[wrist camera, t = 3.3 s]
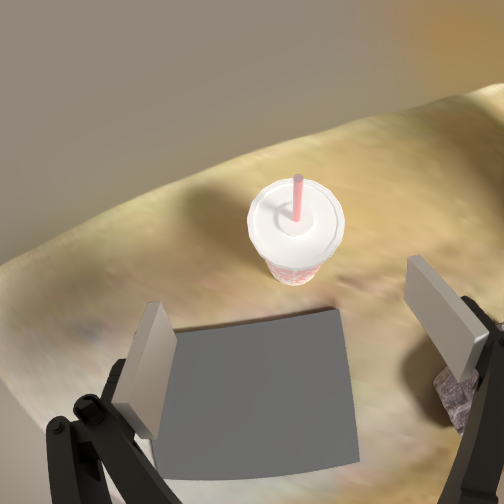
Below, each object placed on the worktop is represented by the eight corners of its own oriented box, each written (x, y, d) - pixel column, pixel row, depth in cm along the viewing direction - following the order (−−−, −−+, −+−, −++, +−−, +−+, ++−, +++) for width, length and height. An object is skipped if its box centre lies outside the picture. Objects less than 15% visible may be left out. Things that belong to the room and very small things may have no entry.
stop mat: (337, 309, 26) (338, 308, 25) (358, 459, 22) (359, 461, 21) (139, 337, 27) (136, 336, 26) (161, 476, 23) (159, 478, 22)
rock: (522, 367, 21) (548, 366, 17) (450, 442, 21) (473, 453, 16) (493, 308, 24) (519, 300, 20) (417, 382, 23) (438, 386, 19)
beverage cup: (327, 295, 26) (366, 242, 13) (256, 292, 27) (227, 237, 14) (327, 229, 28) (356, 132, 15) (261, 226, 29) (239, 128, 16)
